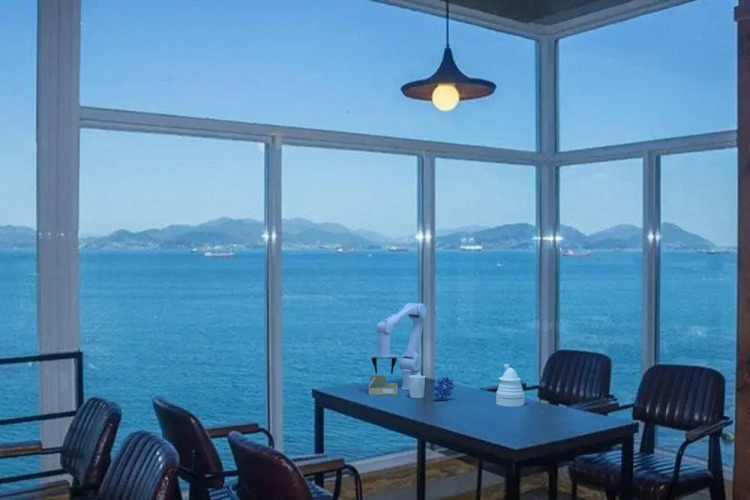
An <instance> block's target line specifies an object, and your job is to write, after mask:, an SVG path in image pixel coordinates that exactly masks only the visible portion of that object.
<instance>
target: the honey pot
mask: <svg viewBox="0 0 750 500" xmlns="http://www.w3.org/2000/svg"><path fill="white" fill-rule="evenodd" d="M503 368H504V369H505V371H504V372H503V374H502V376H500V377H498V380H499V384H498V387H497V390H496V392H495V393H496V395H495V396H496V397H495V401H496V403H495V405H498V406H502V407H513V408H514V407H522V406H524V405H525V391H524V389H523V385H522V384H521V381H522V379H521V378H520V377H519V375H518V374H517V372H516V370H515V369H514V368H512V367H510V364H509V363H506V364H503Z"/></svg>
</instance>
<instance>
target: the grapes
mask: <svg viewBox="0 0 750 500" xmlns="http://www.w3.org/2000/svg"><path fill="white" fill-rule="evenodd" d="M453 382H454V378H453V377H450V376H449V375H448V374H444V376H443V377H442V376H439V377H438V378H437V382H435V383H433V387H432V388H433V391H432V395H433V396H434V397H435V399H436V400H437V401H440V400H441V401H446V400H447V399H448V397H451V396H452V394H453V391H452V390H453V389H454V388H455V383H453Z"/></svg>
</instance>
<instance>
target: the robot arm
mask: <svg viewBox="0 0 750 500" xmlns="http://www.w3.org/2000/svg"><path fill="white" fill-rule="evenodd" d="M427 311H428V309H427V307H426V305H425V304H424V303H423V302H422V303H415V302H408V303H405V304H404V307H402V308H401V310H399V311H398V312H397V313H396V314H392V313H391V314H389V315H390V316H388V317H387V318H385V319H384V320H383V321H379V322H378V323H377V325H376V327H375V330H376V334H377V337H378V342H377V343H378V347H377V348H378V349H377V350H378V354H377V353H376V354H369V360H371V362H372V366H373V367H374V368H373V369H374V372H375V375H378V366H377V365H378V364H377V363H378V360H391V369H390V375H393V373H394V368H395V365H396V363H397V360H399V359H400V360H399V363H398V364H399V368H400V369H401V372H402V385H401V390H403V391H404V390H406V391H407V390H409V376H411V375H421V371H419V370H420V368H421V357H420V356H419V354H418V350H419V346H420V342H421V338H422V334H423V329H424V324H425V319H426V314H427ZM406 317H409V319H411V320H412V322H413V323H412V328H411V332H410V336H409V340H408V345H407V349H406V352H404V353H402V355H401V358H400V355H399V354H391V348H390V347H391V334H392V333H393V330H394V329H395V328H396V327H398V325H400V323H401V321H402V320H403V319H404V318H406Z"/></svg>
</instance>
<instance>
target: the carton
mask: <svg viewBox="0 0 750 500" xmlns="http://www.w3.org/2000/svg"><path fill="white" fill-rule="evenodd" d="M369 384H370V382H369V383H368V385H369ZM368 396H398V384H397V383H396V382H395V383H394V382H393V383H392V382H386V383H372V384H371V386H370V387H369V386H368Z"/></svg>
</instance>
